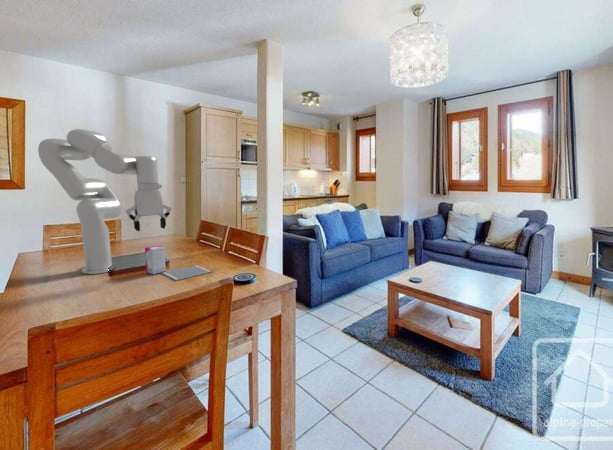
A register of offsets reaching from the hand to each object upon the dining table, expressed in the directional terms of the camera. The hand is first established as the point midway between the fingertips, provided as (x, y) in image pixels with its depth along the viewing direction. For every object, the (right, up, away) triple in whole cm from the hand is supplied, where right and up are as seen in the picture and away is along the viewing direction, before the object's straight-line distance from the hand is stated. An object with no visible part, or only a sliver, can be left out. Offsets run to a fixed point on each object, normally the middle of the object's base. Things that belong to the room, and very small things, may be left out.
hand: (150, 229), depth 124 cm
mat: (+12, -19, +7) cm, 24 cm away
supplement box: (-1, -19, +7) cm, 20 cm away
